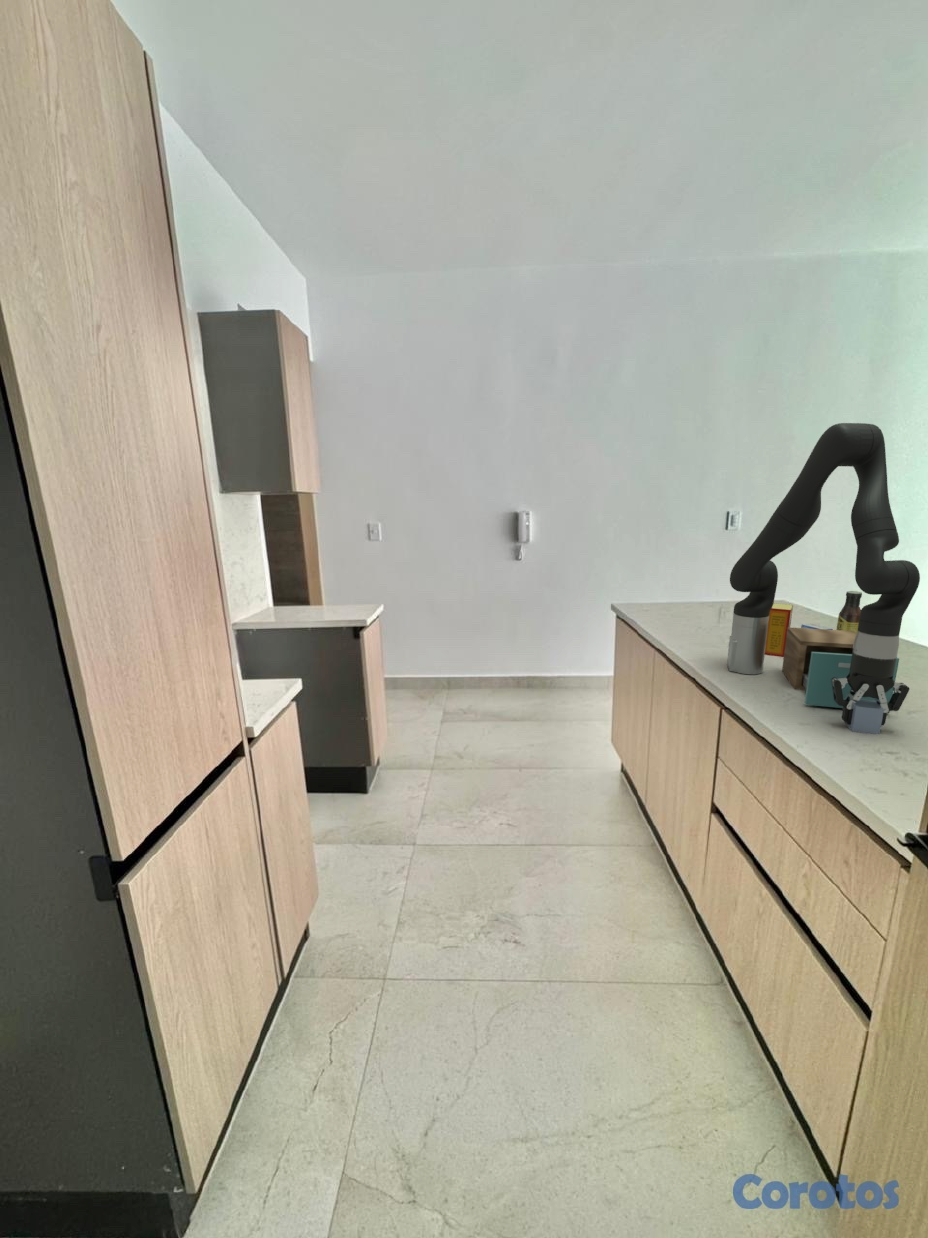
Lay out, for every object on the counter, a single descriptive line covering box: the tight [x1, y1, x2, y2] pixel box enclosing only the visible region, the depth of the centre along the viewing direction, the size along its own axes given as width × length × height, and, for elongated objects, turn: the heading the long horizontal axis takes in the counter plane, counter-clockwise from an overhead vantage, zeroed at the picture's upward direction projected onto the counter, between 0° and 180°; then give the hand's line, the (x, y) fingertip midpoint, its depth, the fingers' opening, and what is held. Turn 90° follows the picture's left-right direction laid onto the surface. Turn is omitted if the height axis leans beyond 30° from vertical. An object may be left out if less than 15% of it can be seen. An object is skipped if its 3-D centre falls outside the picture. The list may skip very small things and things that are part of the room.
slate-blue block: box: [844, 699, 884, 736], centre depth 113 cm, size 5×5×6 cm
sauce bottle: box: [835, 590, 863, 633], centre depth 166 cm, size 7×6×20 cm
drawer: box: [802, 652, 900, 714], centre depth 127 cm, size 17×15×13 cm
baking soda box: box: [765, 602, 794, 658], centre depth 166 cm, size 10×6×16 cm
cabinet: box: [781, 627, 857, 691], centre depth 139 cm, size 16×15×14 cm
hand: (862, 724), depth 113 cm, fingers closed on slate-blue block, 5 cm apart
